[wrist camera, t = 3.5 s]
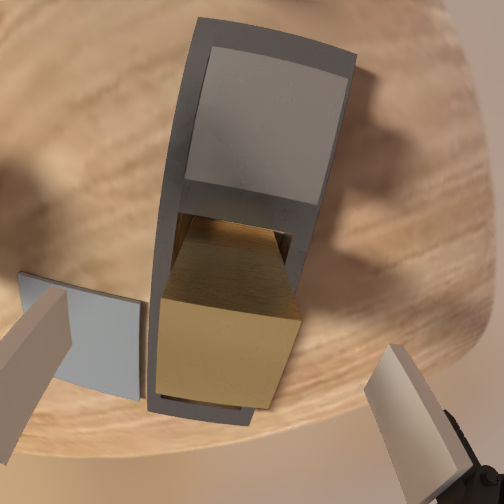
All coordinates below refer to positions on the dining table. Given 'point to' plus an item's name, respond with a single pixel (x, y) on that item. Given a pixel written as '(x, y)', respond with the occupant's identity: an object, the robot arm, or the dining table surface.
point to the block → (265, 125)
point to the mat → (95, 337)
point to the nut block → (226, 317)
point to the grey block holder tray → (229, 198)
